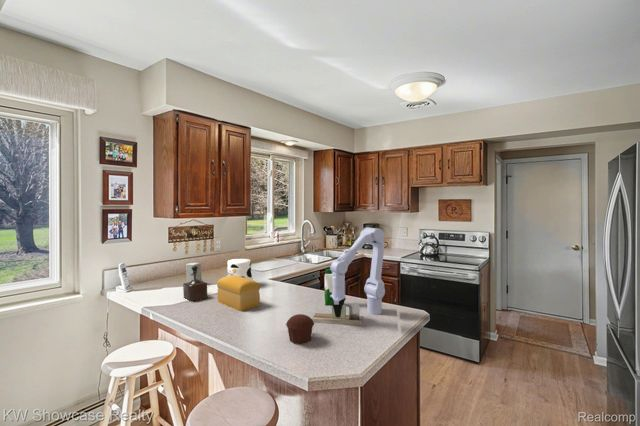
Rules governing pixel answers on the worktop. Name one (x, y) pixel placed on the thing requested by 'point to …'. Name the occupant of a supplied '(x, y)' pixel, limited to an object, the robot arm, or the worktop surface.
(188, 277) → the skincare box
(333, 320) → the shelf board
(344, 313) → the tea box
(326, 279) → the milk carton
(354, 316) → the metal can
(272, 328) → the worktop surface
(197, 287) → the pepper mill
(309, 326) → the muffin
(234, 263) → the milk container
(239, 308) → the bread
